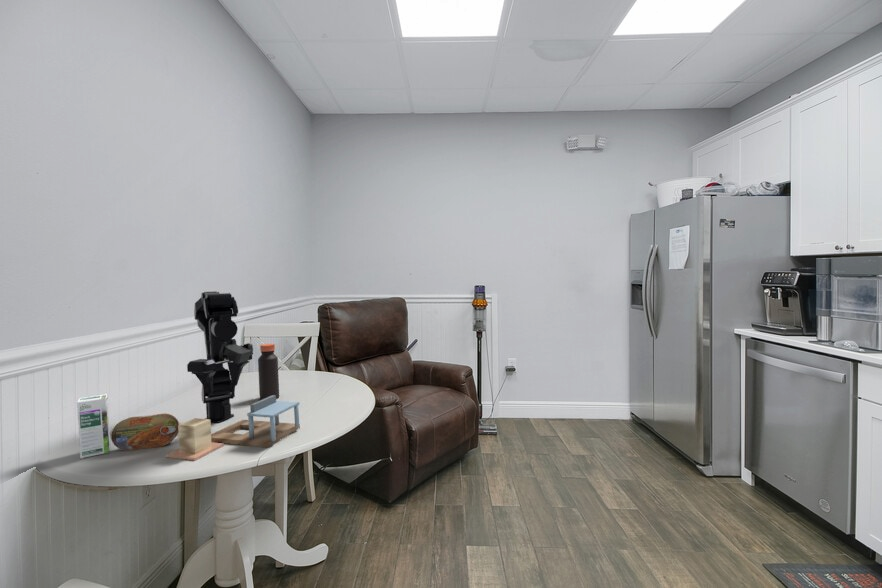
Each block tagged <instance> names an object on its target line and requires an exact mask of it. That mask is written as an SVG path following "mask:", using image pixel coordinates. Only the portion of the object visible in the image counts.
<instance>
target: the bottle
mask: <svg viewBox="0 0 882 588" xmlns="http://www.w3.org/2000/svg"><path fill="white" fill-rule="evenodd" d="M259 346H260V347H259V350H260V353H261V355H260V356H259V357H258V359H257V365H258V366H257V367H258V368H257V369H258V390H259V391H258V392H259V401H260V400H262V399H265V398H267V397H269V396H272V395H276V400H277V399H278V398H280V383H279V359H278V356H277V355H276V354H275V348H276V347H275V346H276V345H275V344H274V343H264V344H260V345H259Z"/></svg>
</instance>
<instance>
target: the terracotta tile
mask: <svg viewBox="0 0 882 588" xmlns="http://www.w3.org/2000/svg"><path fill="white" fill-rule="evenodd" d="M224 446H225V443H218V442H212V446H211V447H209V448H207V449H205V450H203V451H201V452H199V453H197V454H191V453H182V452H180V449H179V448H178V449H176V450H174V451H172V452H169V453H167V454H166V455H165V457H166V458H168V457H170V459H177V458H178V460H185V459H187V460H186V461H194V460H195V461H197V460H199V459H201V458H203V457H205V456H207V455H209V454H211V453H213V452H214V450H215V451H217V450H219V449H221V448H222V447H224ZM220 447H221V448H220ZM218 448H219V449H218ZM216 449H217V450H216ZM212 451H213V452H212ZM210 452H211V453H210Z"/></svg>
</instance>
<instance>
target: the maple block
mask: <svg viewBox="0 0 882 588" xmlns="http://www.w3.org/2000/svg"><path fill="white" fill-rule="evenodd" d="M211 423H212V422H211V421H210V420H209V419H205V418H193V419H190V420H188V421H185V422H182V423H179V425H178V429H179V432H178V446H179V448H178V449H180V452H182V453H191V454H197V453H199V452H201V451H203V450H205V449H207V448H209V447H211V446H212V442H211V434H212V427H211V426H212V424H211Z"/></svg>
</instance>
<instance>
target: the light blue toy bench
mask: <svg viewBox="0 0 882 588" xmlns="http://www.w3.org/2000/svg"><path fill="white" fill-rule="evenodd" d="M299 405H300V402H298V401H286V400H277V399H276V395H272V396H269V397H267V398H265V399H262V400H260V399H259V400H258V401H255V402H253V403H251V404H250V412H247V414H246V416H247V417H248V419H247V420H248V421H249V429H248V432H249V439H253V438H254V422H253V420H254V417H259V418H269V422H270V430H271V441H275V440H276V432H275V425H279V422H280V417H279V415H282V414H283V413H285V412H287V411H289V410H291V409H293V412H294V413H293V414H294V415H293V416H294V424H295V427H298V426H299V424H300V411H299V410H300V408H299Z"/></svg>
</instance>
